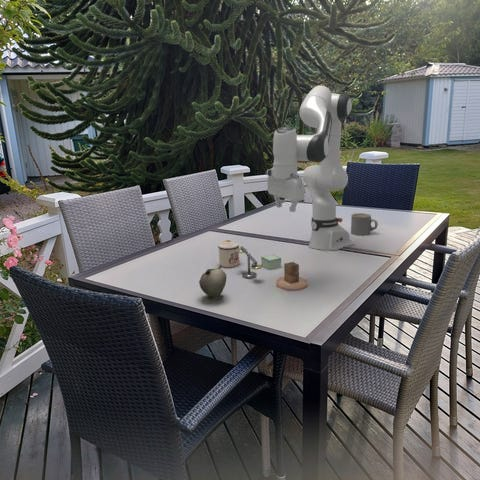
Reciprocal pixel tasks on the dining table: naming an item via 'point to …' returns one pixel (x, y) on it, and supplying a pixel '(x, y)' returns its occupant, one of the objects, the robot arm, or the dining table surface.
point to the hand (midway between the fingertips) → (285, 209)
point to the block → (291, 272)
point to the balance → (254, 265)
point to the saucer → (294, 286)
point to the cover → (271, 261)
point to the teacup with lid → (228, 253)
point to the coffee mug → (362, 224)
